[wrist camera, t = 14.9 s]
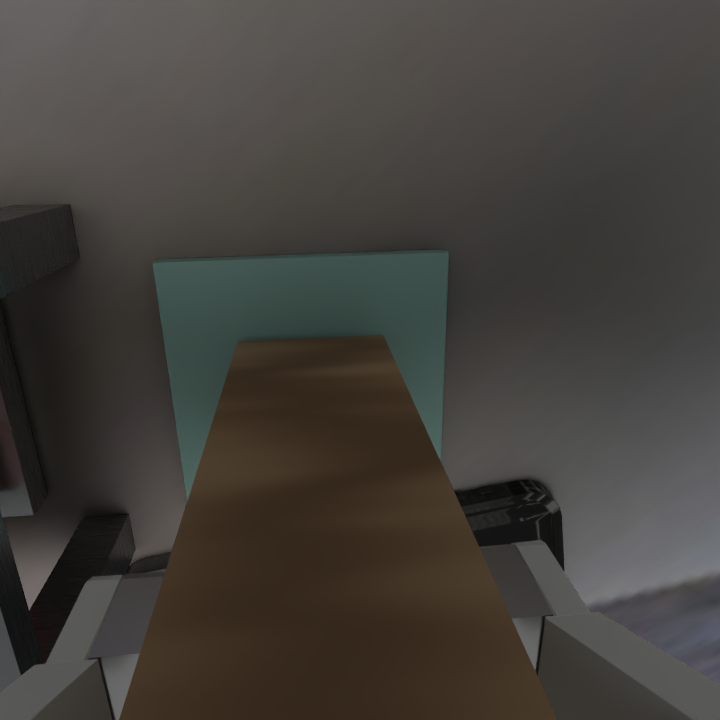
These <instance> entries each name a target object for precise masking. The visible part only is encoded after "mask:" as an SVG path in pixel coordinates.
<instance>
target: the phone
mask: <svg viewBox="0 0 720 720" xmlns="http://www.w3.org/2000/svg"><path fill="white" fill-rule="evenodd" d="M455 495H456V497H457V499H458V501H459V503H460V506H461V508H462V510H463V512H464V514H465V517H466V519H467V521H468V523H469V525H470V528H471V530H472V532H473V534H474V537H475V539H476V541H477V543H478V545H479V547H481V546H492V545H504V544H511V543H517V542H526V541H536V540H541V541H543V542H544V543H546V544H547V546H548V547H549V549H550V551H551V552H552V554H553V555H554V557H555V558H556V560H557V562H558V563H559V565H560V566H561V568H562V569H563V571H564V554H563V533H562V515H561V511H560V507H559V505H558V504H557V503H556V501H555V500H554V499H553V497H552V496H551V494H550V493H549V492H548V490H547V489H546V488H545V487H544V486H543V485H541V484H540V483H538V482H535V481H531V480H518V481H513V482H508V483H503V484H498V485H493V486H489V487H484V488H479V489H474V490H469V491H465V492H460V493H455ZM170 555H171V553H167V554H163V555H158V556H153V557H148V558H145V559H142V560H139V561H136V562H135V563H134V564H132V565H131V566H130V567H128V570H127V572H126V574H135V573H152V572H165V571H166V568H167V565H168V562H169V558H170Z"/></svg>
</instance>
